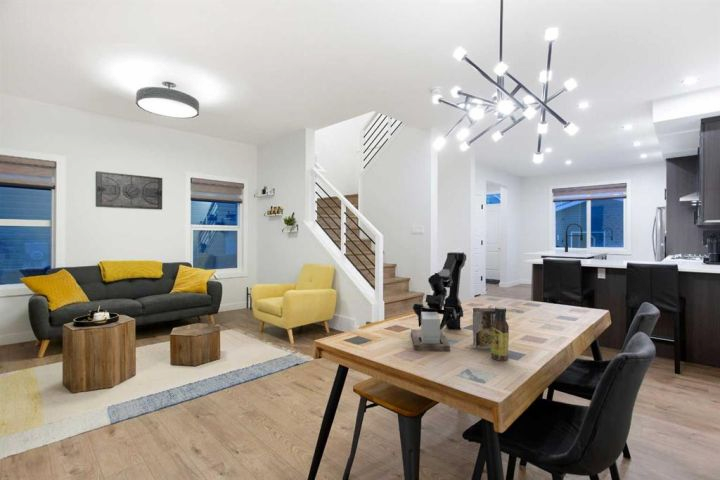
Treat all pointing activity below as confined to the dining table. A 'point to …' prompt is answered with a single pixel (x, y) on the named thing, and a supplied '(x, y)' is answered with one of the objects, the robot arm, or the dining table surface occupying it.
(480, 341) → the coffee box
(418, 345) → the cutout board
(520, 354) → the dining table surface
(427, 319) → the supplement box
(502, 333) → the sauce bottle
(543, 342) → the dining table surface
